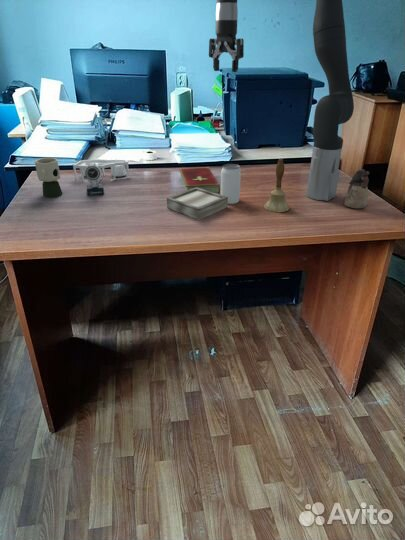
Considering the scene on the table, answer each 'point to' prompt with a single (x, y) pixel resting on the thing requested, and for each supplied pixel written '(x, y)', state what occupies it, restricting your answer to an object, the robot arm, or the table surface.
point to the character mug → (49, 176)
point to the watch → (93, 180)
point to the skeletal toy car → (115, 165)
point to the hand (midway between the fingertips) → (225, 71)
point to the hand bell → (278, 193)
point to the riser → (197, 202)
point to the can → (231, 182)
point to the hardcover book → (199, 179)
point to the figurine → (357, 190)
